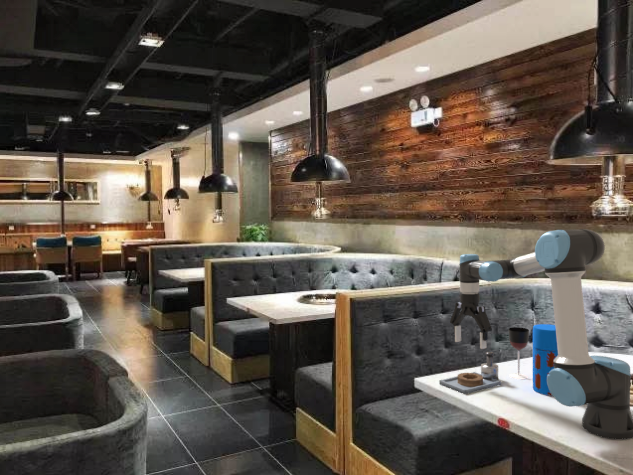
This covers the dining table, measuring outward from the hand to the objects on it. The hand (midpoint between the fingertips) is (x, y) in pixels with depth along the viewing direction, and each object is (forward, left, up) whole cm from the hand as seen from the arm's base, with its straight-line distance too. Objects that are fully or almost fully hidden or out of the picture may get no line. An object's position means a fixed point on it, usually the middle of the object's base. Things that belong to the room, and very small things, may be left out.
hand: (470, 344), depth 212 cm
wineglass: (+15, -20, -17) cm, 30 cm away
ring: (0, 0, -16) cm, 16 cm away
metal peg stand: (+8, -8, -16) cm, 20 cm away
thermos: (-1, -29, -17) cm, 33 cm away
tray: (0, 0, -16) cm, 16 cm away
